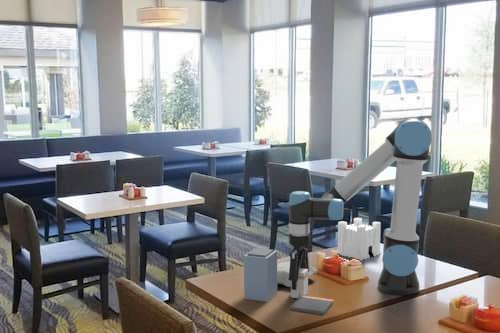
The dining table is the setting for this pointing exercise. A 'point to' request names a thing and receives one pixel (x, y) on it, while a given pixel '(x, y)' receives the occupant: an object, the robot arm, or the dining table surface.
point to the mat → (312, 304)
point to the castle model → (358, 239)
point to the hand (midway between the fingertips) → (299, 293)
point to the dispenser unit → (260, 274)
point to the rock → (284, 273)
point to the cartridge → (303, 281)
